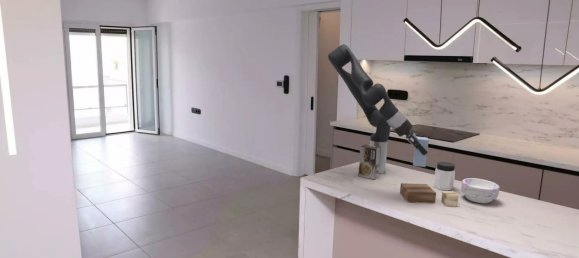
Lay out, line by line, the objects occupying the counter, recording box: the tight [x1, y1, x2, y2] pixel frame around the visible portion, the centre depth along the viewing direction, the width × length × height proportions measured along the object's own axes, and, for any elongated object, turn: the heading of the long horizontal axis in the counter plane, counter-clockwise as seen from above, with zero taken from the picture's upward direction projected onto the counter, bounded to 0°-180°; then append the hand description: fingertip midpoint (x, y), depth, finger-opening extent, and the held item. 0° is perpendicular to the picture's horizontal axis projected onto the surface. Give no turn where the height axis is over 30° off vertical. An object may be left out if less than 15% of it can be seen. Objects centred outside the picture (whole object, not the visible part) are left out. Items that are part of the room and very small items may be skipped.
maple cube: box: [440, 190, 459, 207], centre depth 173 cm, size 5×5×5 cm
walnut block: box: [399, 182, 437, 204], centre depth 179 cm, size 12×12×5 cm
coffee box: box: [358, 144, 381, 180], centre depth 208 cm, size 9×6×16 cm
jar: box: [433, 161, 456, 191], centre depth 194 cm, size 9×8×12 cm
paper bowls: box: [460, 177, 500, 204], centre depth 179 cm, size 15×15×8 cm
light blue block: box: [412, 136, 430, 168], centre depth 176 cm, size 5×5×12 cm
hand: (424, 152), depth 175 cm, fingers closed on light blue block, 5 cm apart
